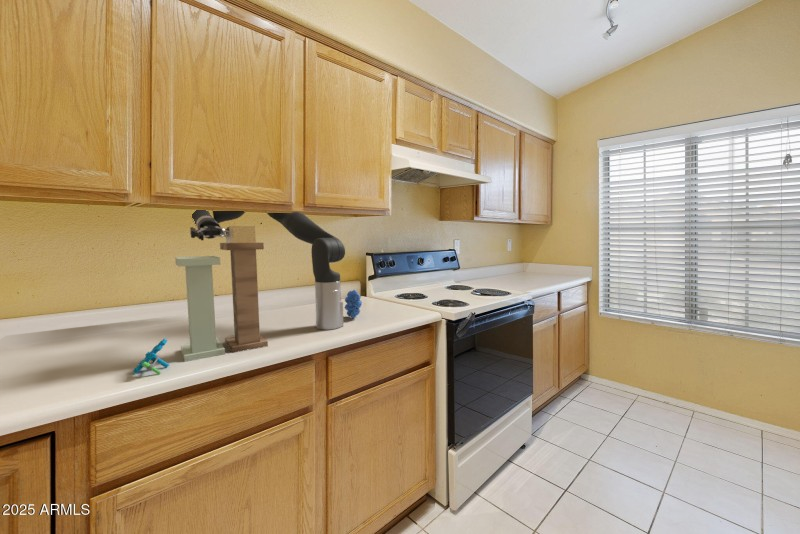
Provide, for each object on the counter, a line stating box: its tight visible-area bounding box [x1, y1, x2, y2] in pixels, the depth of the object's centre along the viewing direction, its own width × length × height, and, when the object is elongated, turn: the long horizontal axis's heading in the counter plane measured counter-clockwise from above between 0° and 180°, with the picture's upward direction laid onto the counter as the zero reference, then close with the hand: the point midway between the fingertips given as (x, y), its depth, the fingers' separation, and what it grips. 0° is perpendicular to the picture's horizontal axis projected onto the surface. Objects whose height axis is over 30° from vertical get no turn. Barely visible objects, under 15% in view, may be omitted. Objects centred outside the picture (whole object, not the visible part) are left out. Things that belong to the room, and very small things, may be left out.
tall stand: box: [219, 241, 269, 353], centre depth 108 cm, size 12×10×32 cm
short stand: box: [174, 255, 226, 362], centre depth 101 cm, size 12×10×28 cm
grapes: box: [344, 289, 363, 319], centre depth 144 cm, size 12×7×12 cm, turn 37°
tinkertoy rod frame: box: [132, 338, 170, 375], centre depth 89 cm, size 11×6×10 cm
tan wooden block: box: [225, 225, 257, 243], centre depth 111 cm, size 21×6×5 cm, turn 36°
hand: (215, 237), depth 126 cm, fingers open, 8 cm apart
